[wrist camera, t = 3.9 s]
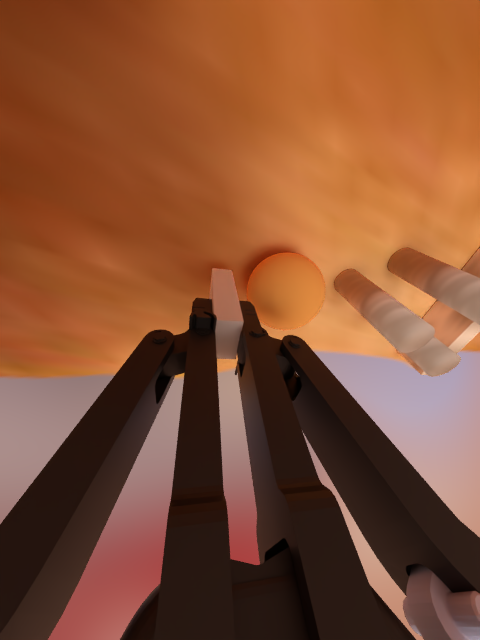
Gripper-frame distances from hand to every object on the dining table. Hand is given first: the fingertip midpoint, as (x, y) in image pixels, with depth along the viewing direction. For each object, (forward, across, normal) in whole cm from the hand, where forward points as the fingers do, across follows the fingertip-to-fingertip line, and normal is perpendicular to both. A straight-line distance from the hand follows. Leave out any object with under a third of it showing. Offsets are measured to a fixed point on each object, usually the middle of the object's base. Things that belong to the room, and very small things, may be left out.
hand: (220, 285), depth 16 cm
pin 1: (+2, +17, +3) cm, 17 cm away
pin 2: (+2, +17, -2) cm, 17 cm away
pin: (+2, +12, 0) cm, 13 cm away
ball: (-1, +5, 0) cm, 5 cm away
